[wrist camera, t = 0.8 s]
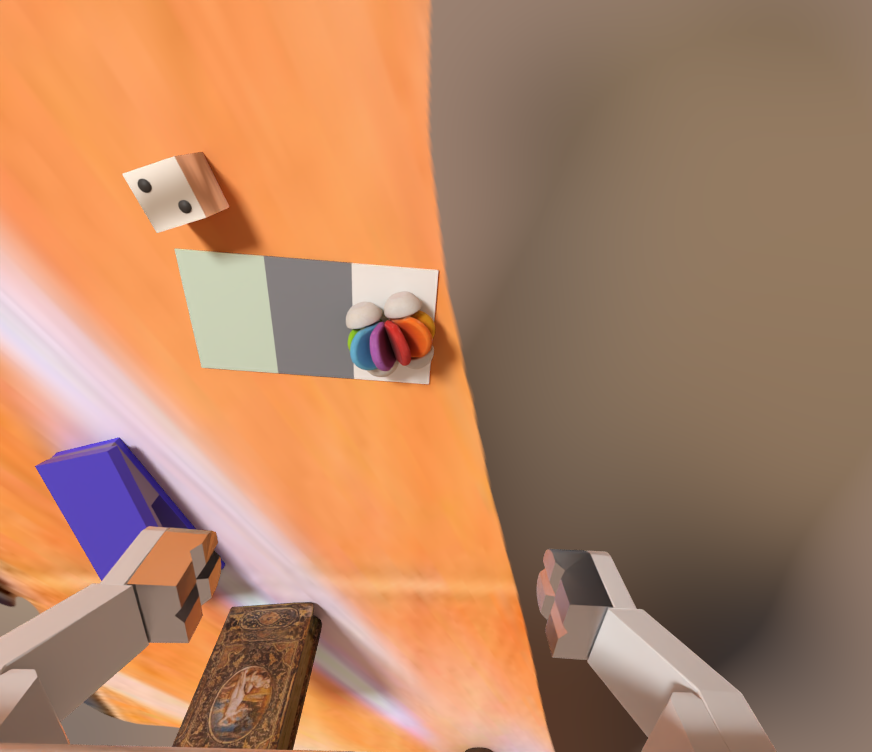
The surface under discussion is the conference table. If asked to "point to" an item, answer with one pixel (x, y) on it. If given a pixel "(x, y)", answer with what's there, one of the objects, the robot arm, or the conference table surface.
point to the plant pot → (478, 750)
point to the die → (177, 191)
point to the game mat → (290, 311)
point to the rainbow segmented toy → (390, 335)
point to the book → (254, 680)
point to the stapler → (108, 499)
